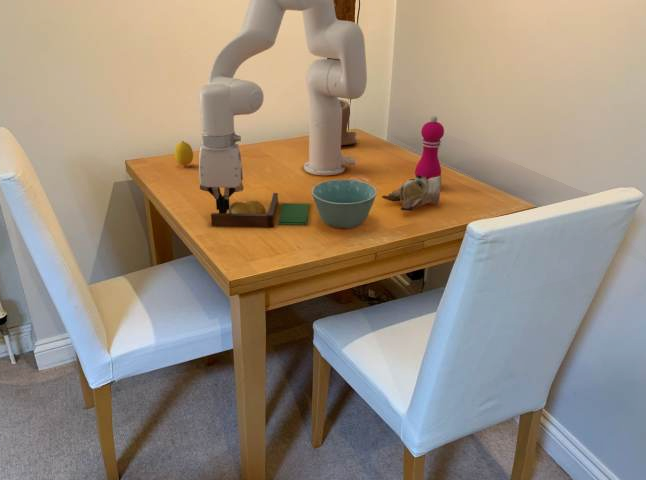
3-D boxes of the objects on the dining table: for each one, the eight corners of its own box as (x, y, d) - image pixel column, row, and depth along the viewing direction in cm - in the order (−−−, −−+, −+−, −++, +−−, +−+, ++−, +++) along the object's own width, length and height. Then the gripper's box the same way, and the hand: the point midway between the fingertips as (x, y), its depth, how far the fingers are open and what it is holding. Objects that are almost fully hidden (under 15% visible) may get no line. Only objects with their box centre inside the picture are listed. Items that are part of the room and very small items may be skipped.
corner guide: (278, 203, 154) (277, 192, 153) (273, 227, 141) (272, 215, 140) (221, 202, 155) (221, 191, 153) (211, 226, 142) (210, 213, 140)
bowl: (328, 239, 135) (329, 206, 131) (301, 215, 148) (301, 184, 144) (386, 228, 141) (389, 196, 137) (356, 205, 153) (357, 175, 149)
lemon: (192, 169, 177) (189, 144, 173) (174, 169, 177) (171, 143, 173) (195, 164, 182) (193, 138, 178) (178, 163, 182) (175, 138, 178)
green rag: (308, 204, 154) (308, 202, 153) (306, 225, 142) (306, 223, 142) (282, 204, 154) (282, 202, 154) (278, 224, 143) (278, 222, 142)
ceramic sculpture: (453, 176, 147) (403, 188, 142) (451, 207, 151) (401, 220, 147) (429, 164, 155) (380, 174, 151) (427, 194, 160) (380, 205, 155)
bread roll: (270, 219, 145) (269, 204, 143) (236, 225, 142) (235, 210, 140) (258, 207, 152) (257, 193, 150) (225, 213, 149) (224, 198, 146)
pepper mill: (441, 185, 166) (451, 114, 156) (435, 193, 161) (444, 120, 151) (417, 181, 169) (424, 111, 159) (410, 189, 163) (417, 117, 153)
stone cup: (319, 151, 193) (320, 105, 185) (311, 141, 203) (312, 97, 195) (363, 149, 196) (365, 103, 188) (353, 139, 206) (355, 95, 198)
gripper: (252, 136, 140) (254, 207, 149) (190, 134, 141) (196, 206, 150) (248, 145, 134) (251, 219, 143) (183, 143, 134) (190, 217, 143)
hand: (223, 212), depth 146 cm, fingers closed
